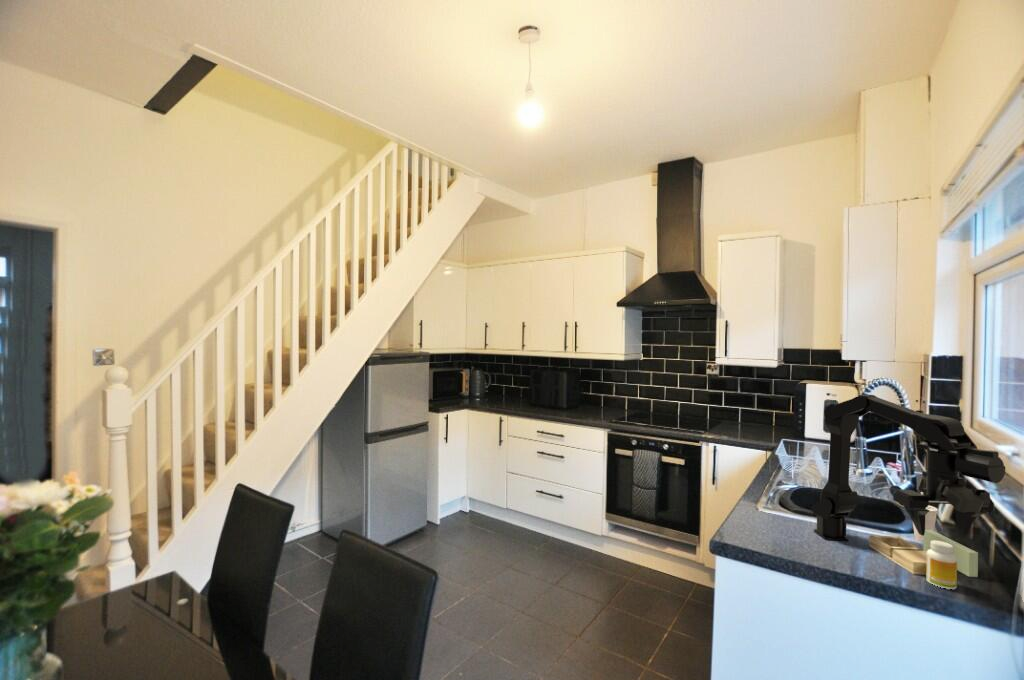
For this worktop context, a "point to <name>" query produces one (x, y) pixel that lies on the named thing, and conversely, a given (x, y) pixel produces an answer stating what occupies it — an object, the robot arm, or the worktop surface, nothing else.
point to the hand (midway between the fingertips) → (941, 535)
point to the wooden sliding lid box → (900, 552)
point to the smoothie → (927, 522)
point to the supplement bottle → (941, 565)
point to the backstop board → (956, 553)
